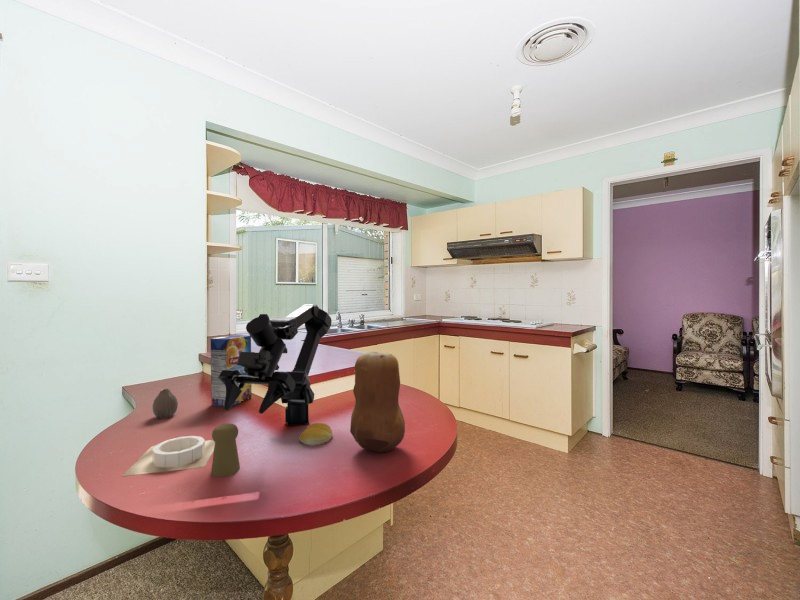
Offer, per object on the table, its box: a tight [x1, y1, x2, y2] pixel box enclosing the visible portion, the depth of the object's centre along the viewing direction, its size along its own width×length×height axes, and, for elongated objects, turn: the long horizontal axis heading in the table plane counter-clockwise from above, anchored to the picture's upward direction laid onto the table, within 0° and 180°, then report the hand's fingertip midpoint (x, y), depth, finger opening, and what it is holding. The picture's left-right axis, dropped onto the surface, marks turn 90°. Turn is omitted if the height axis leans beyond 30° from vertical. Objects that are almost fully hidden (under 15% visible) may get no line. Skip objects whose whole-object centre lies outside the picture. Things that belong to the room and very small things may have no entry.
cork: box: [210, 423, 241, 478], centre depth 80 cm, size 6×6×11 cm
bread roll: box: [299, 422, 333, 446], centre depth 100 cm, size 8×9×4 cm
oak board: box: [122, 439, 215, 477], centre depth 88 cm, size 16×16×1 cm
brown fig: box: [152, 388, 179, 419], centre depth 119 cm, size 7×7×9 cm
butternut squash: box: [349, 351, 406, 454], centre depth 93 cm, size 14×13×25 cm
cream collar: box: [152, 435, 206, 468], centre depth 87 cm, size 10×10×3 cm
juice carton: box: [210, 334, 253, 408], centre depth 135 cm, size 12×8×24 cm, turn 161°
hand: (242, 411), depth 86 cm, fingers open, 9 cm apart
